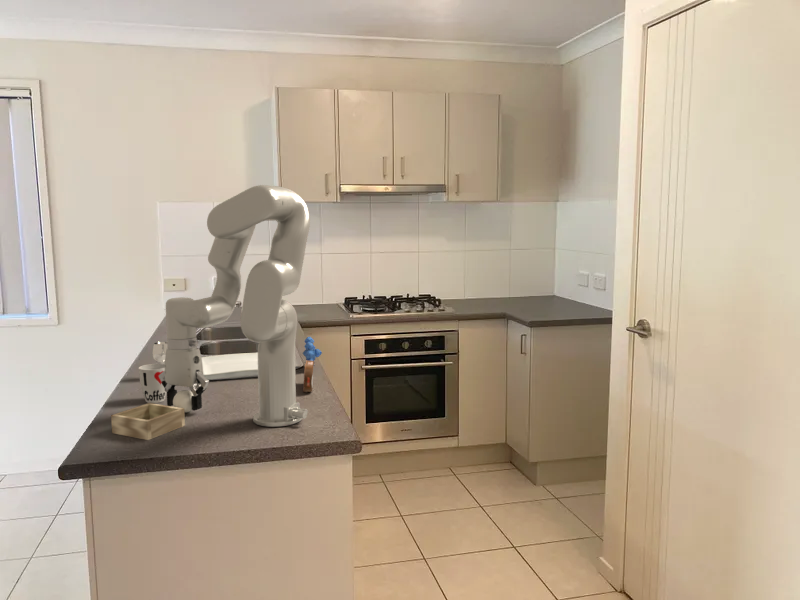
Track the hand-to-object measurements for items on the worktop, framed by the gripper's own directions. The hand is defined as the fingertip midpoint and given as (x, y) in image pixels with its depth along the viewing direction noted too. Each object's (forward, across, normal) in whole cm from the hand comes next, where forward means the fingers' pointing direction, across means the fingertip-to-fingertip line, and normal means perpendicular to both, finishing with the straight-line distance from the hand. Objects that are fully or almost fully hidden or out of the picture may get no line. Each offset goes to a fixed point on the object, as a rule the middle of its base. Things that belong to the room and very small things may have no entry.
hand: (184, 406), depth 177 cm
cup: (+2, +16, -5) cm, 17 cm away
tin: (+2, -17, -35) cm, 39 cm away
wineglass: (+2, +33, -25) cm, 41 cm away
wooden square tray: (+1, -3, +15) cm, 15 cm away
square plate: (+2, +18, -45) cm, 48 cm away
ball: (-2, 0, 0) cm, 2 cm away
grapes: (+2, -4, -57) cm, 57 cm away
